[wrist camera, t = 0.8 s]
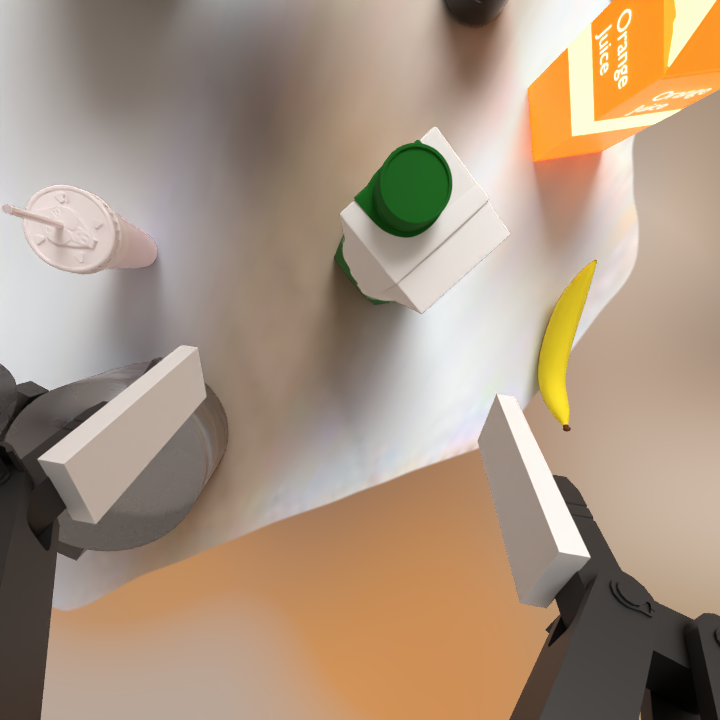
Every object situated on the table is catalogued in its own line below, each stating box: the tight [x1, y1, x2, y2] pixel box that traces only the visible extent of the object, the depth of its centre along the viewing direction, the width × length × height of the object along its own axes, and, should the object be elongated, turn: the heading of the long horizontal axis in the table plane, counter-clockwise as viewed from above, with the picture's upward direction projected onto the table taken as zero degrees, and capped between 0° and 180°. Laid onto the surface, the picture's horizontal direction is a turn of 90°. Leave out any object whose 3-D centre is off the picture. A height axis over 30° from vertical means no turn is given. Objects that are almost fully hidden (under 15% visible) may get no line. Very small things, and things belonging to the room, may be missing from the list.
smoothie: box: [2, 185, 157, 274], centre depth 27 cm, size 6×6×14 cm
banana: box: [538, 260, 597, 431], centre depth 38 cm, size 3×19×6 cm, turn 174°
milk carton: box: [334, 127, 510, 314], centre depth 27 cm, size 9×9×20 cm
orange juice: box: [528, 0, 720, 162], centre depth 27 cm, size 8×9×20 cm
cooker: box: [0, 358, 228, 561], centre depth 33 cm, size 18×21×9 cm
